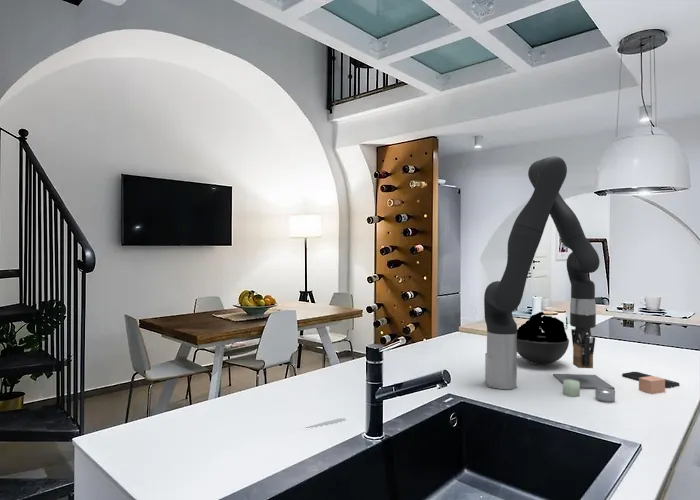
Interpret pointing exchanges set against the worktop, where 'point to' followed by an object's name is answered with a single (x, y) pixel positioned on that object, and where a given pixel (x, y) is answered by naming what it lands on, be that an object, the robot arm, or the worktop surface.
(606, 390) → the grey metal puck
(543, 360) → the coal bowl
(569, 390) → the sage cylinder
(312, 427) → the butter knife
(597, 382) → the charcoal mat
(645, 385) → the terracotta brick
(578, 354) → the walnut block
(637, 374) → the phone
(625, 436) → the worktop surface
